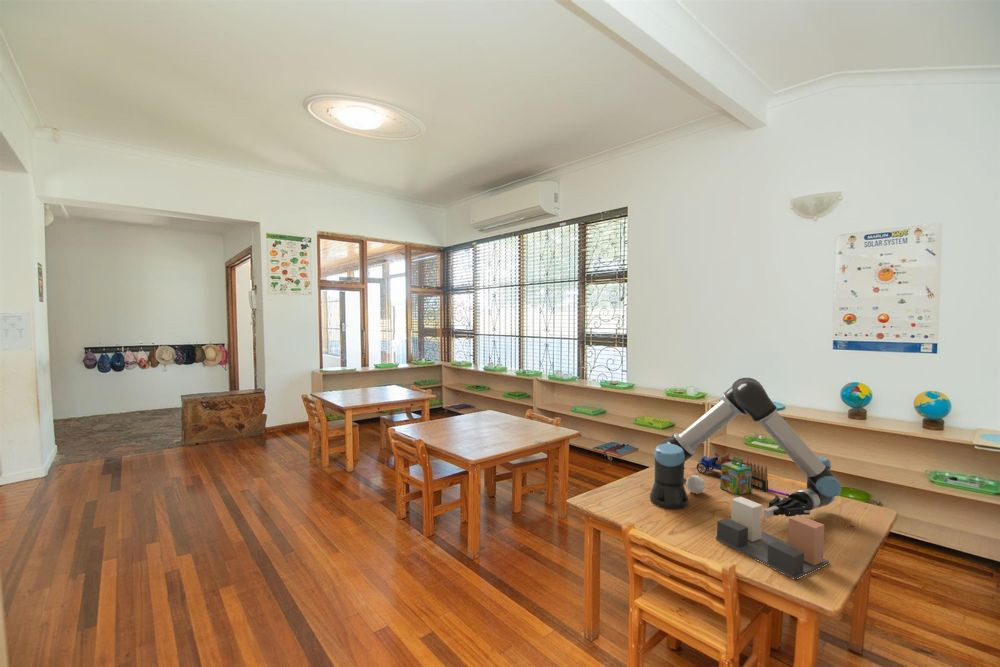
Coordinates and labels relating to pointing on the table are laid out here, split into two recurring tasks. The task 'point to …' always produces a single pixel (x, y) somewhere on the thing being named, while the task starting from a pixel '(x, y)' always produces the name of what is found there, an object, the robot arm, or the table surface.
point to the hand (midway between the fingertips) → (765, 513)
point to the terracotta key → (807, 538)
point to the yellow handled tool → (777, 492)
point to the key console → (765, 549)
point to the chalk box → (736, 477)
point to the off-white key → (748, 516)
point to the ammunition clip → (758, 476)
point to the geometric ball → (695, 484)
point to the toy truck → (714, 463)
